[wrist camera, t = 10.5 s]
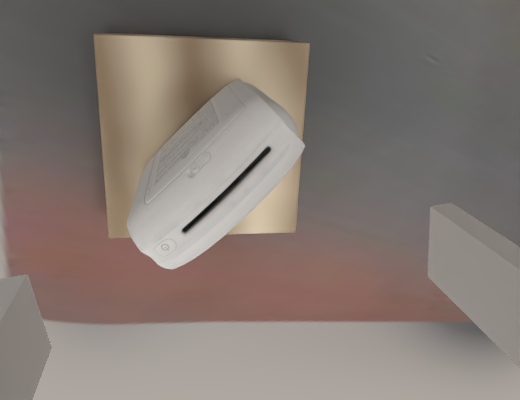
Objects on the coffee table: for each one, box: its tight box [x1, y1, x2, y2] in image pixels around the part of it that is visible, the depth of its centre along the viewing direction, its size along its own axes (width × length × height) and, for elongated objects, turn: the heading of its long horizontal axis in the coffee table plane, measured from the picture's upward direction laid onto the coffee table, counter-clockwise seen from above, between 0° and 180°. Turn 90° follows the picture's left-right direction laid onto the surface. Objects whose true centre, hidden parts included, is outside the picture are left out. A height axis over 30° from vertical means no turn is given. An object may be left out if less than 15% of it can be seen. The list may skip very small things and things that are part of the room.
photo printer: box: [127, 78, 305, 269], centre depth 27 cm, size 10×4×12 cm, turn 132°
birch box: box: [93, 33, 310, 238], centre depth 35 cm, size 14×14×6 cm
